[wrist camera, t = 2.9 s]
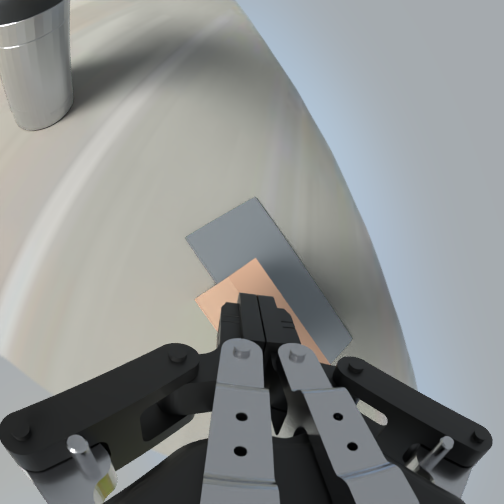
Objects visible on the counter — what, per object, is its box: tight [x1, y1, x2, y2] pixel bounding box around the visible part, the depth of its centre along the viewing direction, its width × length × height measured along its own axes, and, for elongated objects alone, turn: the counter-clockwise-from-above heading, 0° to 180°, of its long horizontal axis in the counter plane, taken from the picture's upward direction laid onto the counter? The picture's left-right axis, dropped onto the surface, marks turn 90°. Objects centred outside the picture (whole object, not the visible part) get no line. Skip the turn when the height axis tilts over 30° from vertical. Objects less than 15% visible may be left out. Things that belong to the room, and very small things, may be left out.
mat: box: [185, 197, 352, 364], centre depth 34 cm, size 22×10×1 cm, turn 38°
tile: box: [194, 258, 330, 365], centre depth 26 cm, size 10×3×12 cm, turn 38°
